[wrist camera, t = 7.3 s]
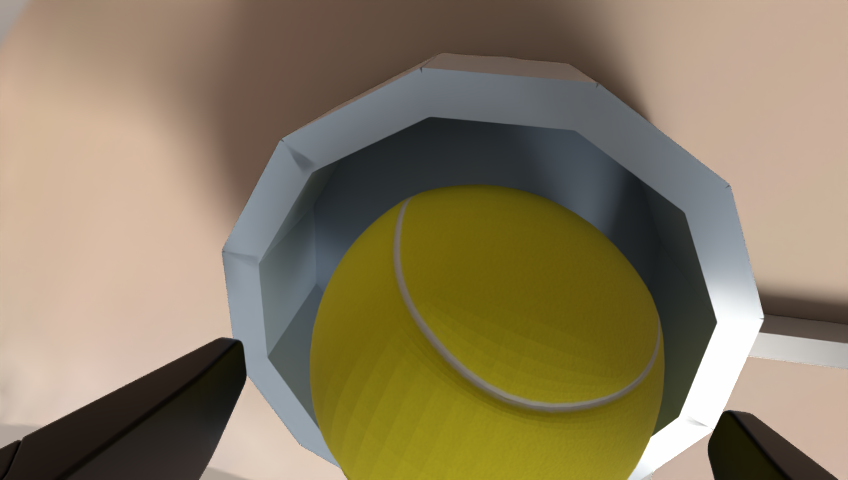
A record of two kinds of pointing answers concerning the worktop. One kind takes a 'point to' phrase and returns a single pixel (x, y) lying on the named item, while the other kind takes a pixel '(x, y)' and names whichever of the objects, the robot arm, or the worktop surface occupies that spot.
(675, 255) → the bowl
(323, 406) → the tennis ball
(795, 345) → the grey square frame
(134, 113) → the worktop surface
